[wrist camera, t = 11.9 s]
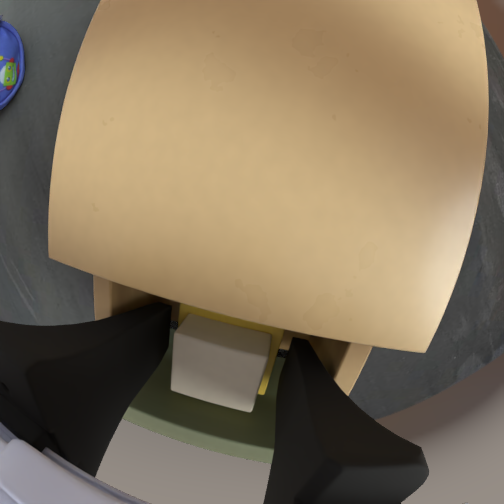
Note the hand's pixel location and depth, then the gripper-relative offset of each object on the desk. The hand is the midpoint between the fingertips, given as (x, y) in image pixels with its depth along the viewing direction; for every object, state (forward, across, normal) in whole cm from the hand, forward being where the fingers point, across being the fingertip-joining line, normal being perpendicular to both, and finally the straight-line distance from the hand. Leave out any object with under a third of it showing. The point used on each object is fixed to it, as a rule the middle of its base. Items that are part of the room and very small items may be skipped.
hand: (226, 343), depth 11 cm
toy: (+3, 0, 0) cm, 3 cm away
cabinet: (+5, 0, -10) cm, 11 cm away
